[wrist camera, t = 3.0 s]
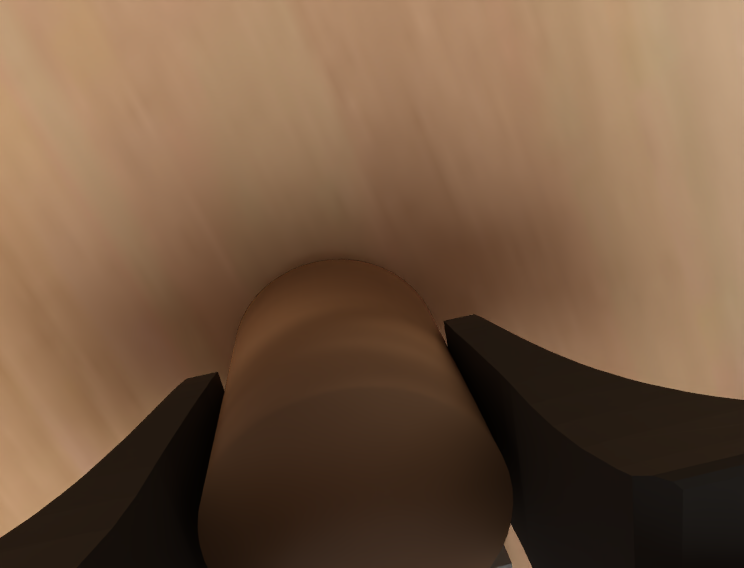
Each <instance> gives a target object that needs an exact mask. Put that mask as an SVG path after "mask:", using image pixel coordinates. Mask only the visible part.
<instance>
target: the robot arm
mask: <svg viewBox="0 0 744 568" xmlns="http://www.w3.org/2000/svg"><path fill="white" fill-rule="evenodd" d="M444 326H445V332H446V339H447V345H448V349H449V351H450V353H451V355H452V357H453V359H454V361H455V363H456V365H457V367H458V369H459V371H460V373H461V375H462V377H463V379H464V381H465V383H466V385H467V387H468V389H469V390H470V392H471V394H472V396H473V398H474V400H475V402H476V404H477V406H478V408H479V410H480V412H481V414H482V416H483V418H484V420H485V422H486V424H487V426H488V428H489V430H490V432H491V434H492V436H493V438H494V440H495V442H496V444H497V446H498V448H499V450H500V452H501V454H502V456H503V458H504V461H505V463H506V466H507V468H508V471H509V474H510V479H511V484H512V489H513V510H512V519H511V525H512V527H513V529H514V531H515V532H516V534H517V536H518V538H519V540H520V542H521V544H522V546H523V548H524V550H525V553H526V555H527V557H528V559H529V561H530V563H531V565H532V568H744V400H739V399H730V398H722V397H715V396H708V395H702V394H696V393H690V392H684V391H680V390H675V389H670V388H665V387H660V386H655V385H651V384H646V383H642V382H638V381H634V380H631V379H627V378H624V377H620V376H617V375H614V374H610V373H607V372H604V371H600V370H597V369H594V368H591V367H588V366H585V365H583V364H580V363H577V362H575V361H572V360H570V359H567V358H565V357H562V356H560V355H557V354H555V353H553V352H550V351H548V350H546V349H544V348H541V347H539V346H537V345H535V344H533V343H531V342H529V341H527V340H524V339H522V338H520V337H518V336H516V335H514V334H512V333H510V332H509V331H507V330H505V329H503V328H501V327H499V326H497V325H495V324H493V323H491V322H489V321H487V320H486V319H484V318H482V317H479V316H477V315H475V314H473V315H469V316H464V317H460V318H455V319H451V320H446V321H444ZM223 396H224V389H223V386H222V383H221V380H220V377H219V374H218V372H215V373H210V374H206V375H201V376H197V377H193V378H188V379H186V380H185V381H183V382H182V383H181V384H180V385H179V386H177V387H176V388H175V389H174V390H173V391H172V392H171V393H170V394H169V395H168V396H167V397H166V398H165V399H164V400H163V401H162V402H161V403H160V404H159V405H158V406H157V407H156V408H155V409H154V410H153V411H152V412H151V413H150V414H149V415H148V416H147V417H146V418H145V419H144V420H143V421H142V422H141V423H140V424H139V425H138V426H137V427H136V428H135V429H134V430H133V431H132V432H131V433H130V434H129V435H128V436H127V437H126V438H125V439H124V440H123V441H122V442H121V443H119V444H118V445H117V446H116V447H115V448H114V449H113V450H112V451H111V452H110V453H109V454H107V455H106V456H105V457H104V458H103V459H102V460H101V461H100V462H99V463H98V464H96V465H95V466H94V467H93V468H92V469H91V470H90V471H89V472H88V473H87V474H85V475H84V476H83V477H82V478H81V479H79V480H78V481H77V482H76V483H75V484H73V485H72V486H71V487H70V488H69V489H67V490H66V491H65V492H64V493H62V494H61V495H60V496H58V497H57V498H56V499H54V500H53V501H52V502H51V503H49V504H48V505H47V506H45V507H44V508H43V509H41V510H40V511H39V512H37V513H36V514H35V515H33V516H32V517H31V518H29V519H28V520H26V521H25V522H23V523H22V524H20V525H19V526H17V527H16V528H14V529H13V530H11V531H10V532H8V533H7V534H5V535H4V536H2V537H1V538H0V568H208V567H207V565H206V563H205V561H204V558H203V554H202V551H201V548H200V544H199V536H198V511H199V506H200V502H201V497H202V492H203V488H204V483H205V479H206V474H207V469H208V465H209V460H210V455H211V451H212V446H213V442H214V437H215V432H216V428H217V423H218V419H219V414H220V409H221V405H222V400H223Z"/></svg>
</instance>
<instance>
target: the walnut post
mask: <svg viewBox="0 0 744 568" xmlns="http://www.w3.org/2000/svg"><path fill="white" fill-rule="evenodd" d="M512 510H513V489H512V484H511V479H510V474H509V471H508V468H507V466H506V463H505V461H504V458H503V456H502V454H501V452H500V450H499V448H498V446H497V444H496V442H495V440H494V438H493V436H492V434H491V432H490V430H489V428H488V426H487V424H486V422H485V420H484V418H483V416H482V414H481V412H480V410H479V408H478V406H477V404H476V402H475V400H474V398H473V396H472V394H471V392H470V390H469V389H468V387H467V385H466V383H465V381H464V379H463V377H462V375H461V373H460V371H459V369H458V367H457V365H456V363H455V361H454V359H453V357H452V355H451V353H450V351H449V349H448V347H447V345H446V343H445V341H444V339H443V337H442V335H441V333H440V331H439V329H438V327H437V325H436V323H435V321H434V319H433V317H432V315H431V313H430V311H429V309H428V308H427V306H426V304H425V303H424V301H423V299H422V298H421V297H420V296H419V294H418V293H417V292H416V291H415V290H414V289H413V288H412V287H411V286H410V285H409V284H408V283H407V282H406V281H404V280H403V279H401V278H400V277H398V276H397V275H396V274H394V273H392V272H390V271H388V270H386V269H384V268H382V267H379V266H376V265H373V264H370V263H366V262H361V261H356V260H345V259H338V260H325V261H318V262H313V263H310V264H306V265H303V266H300V267H298V268H295V269H293V270H291V271H288V272H287V273H285V274H283V275H282V276H280V277H278V278H277V279H275V280H274V281H273V282H271V283H270V284H269V285H268V286H266V287H265V288H264V289H263V290H262V291H261V292H260V293H259V294H258V295H257V296H256V298H255V299H254V300H253V302H252V303H251V304H250V306H249V307H248V309H247V310H246V312H245V314H244V316H243V318H242V320H241V323H240V325H239V328H238V331H237V336H236V340H235V345H234V350H233V354H232V359H231V363H230V368H229V373H228V377H227V382H226V386H225V391H224V396H223V400H222V405H221V409H220V414H219V419H218V423H217V428H216V432H215V437H214V442H213V446H212V451H211V455H210V460H209V465H208V469H207V474H206V479H205V483H204V488H203V492H202V497H201V502H200V506H199V511H198V536H199V544H200V548H201V551H202V554H203V558H204V561H205V563H206V565H207V567H208V568H490V567H491V566H492V564H493V562H494V561H495V559H496V557H497V556H498V554H499V552H500V551H501V549H502V546H503V544H504V542H505V539H506V537H507V534H508V530H509V527H510V523H511V519H512Z"/></svg>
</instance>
